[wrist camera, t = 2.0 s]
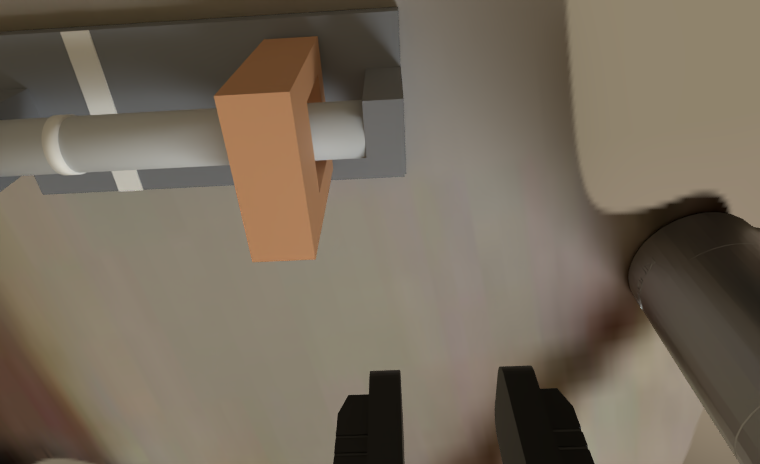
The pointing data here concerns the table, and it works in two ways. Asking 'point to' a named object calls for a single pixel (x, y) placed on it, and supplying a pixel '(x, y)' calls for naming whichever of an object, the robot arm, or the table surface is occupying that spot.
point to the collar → (276, 148)
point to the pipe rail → (187, 99)
